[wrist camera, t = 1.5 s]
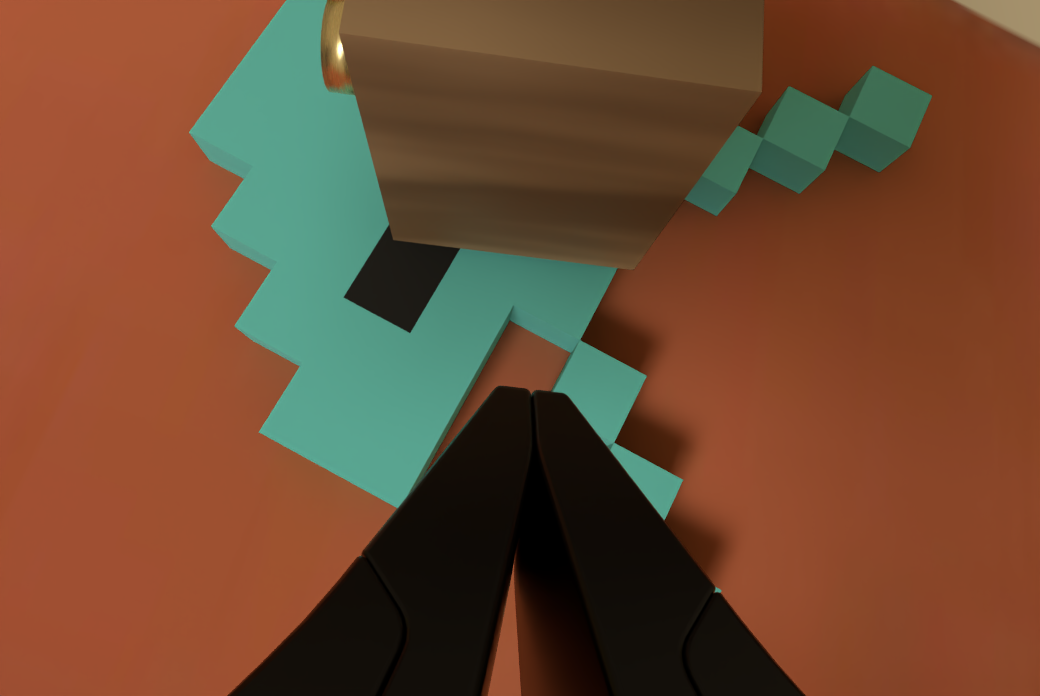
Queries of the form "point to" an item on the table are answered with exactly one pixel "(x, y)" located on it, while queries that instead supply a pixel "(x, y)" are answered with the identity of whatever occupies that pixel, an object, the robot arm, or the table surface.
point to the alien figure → (443, 263)
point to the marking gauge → (543, 114)
